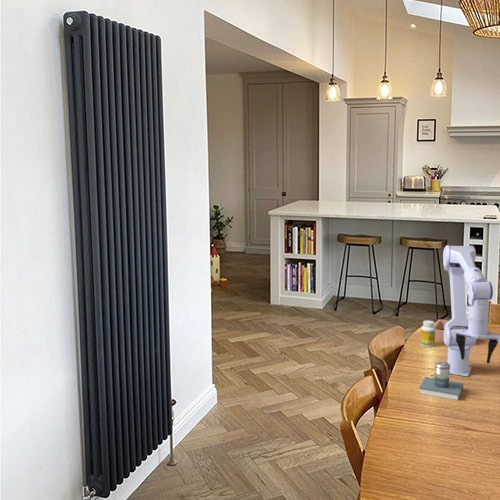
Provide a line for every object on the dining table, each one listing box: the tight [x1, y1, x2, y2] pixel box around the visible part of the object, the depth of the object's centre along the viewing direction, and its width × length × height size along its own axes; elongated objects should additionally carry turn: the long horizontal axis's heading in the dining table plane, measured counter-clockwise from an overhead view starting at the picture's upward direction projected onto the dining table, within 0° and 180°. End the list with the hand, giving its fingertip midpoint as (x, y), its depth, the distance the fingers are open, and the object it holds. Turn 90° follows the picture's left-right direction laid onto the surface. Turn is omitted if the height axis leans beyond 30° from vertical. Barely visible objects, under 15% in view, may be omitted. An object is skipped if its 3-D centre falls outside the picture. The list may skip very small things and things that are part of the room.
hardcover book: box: [418, 376, 464, 401], centre depth 199 cm, size 10×12×2 cm
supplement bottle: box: [420, 319, 436, 348], centre depth 245 cm, size 5×5×10 cm
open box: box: [433, 318, 478, 342], centre depth 257 cm, size 17×17×4 cm
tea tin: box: [433, 361, 451, 388], centre depth 198 cm, size 5×5×7 cm
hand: (475, 360), depth 198 cm, fingers open, 7 cm apart
